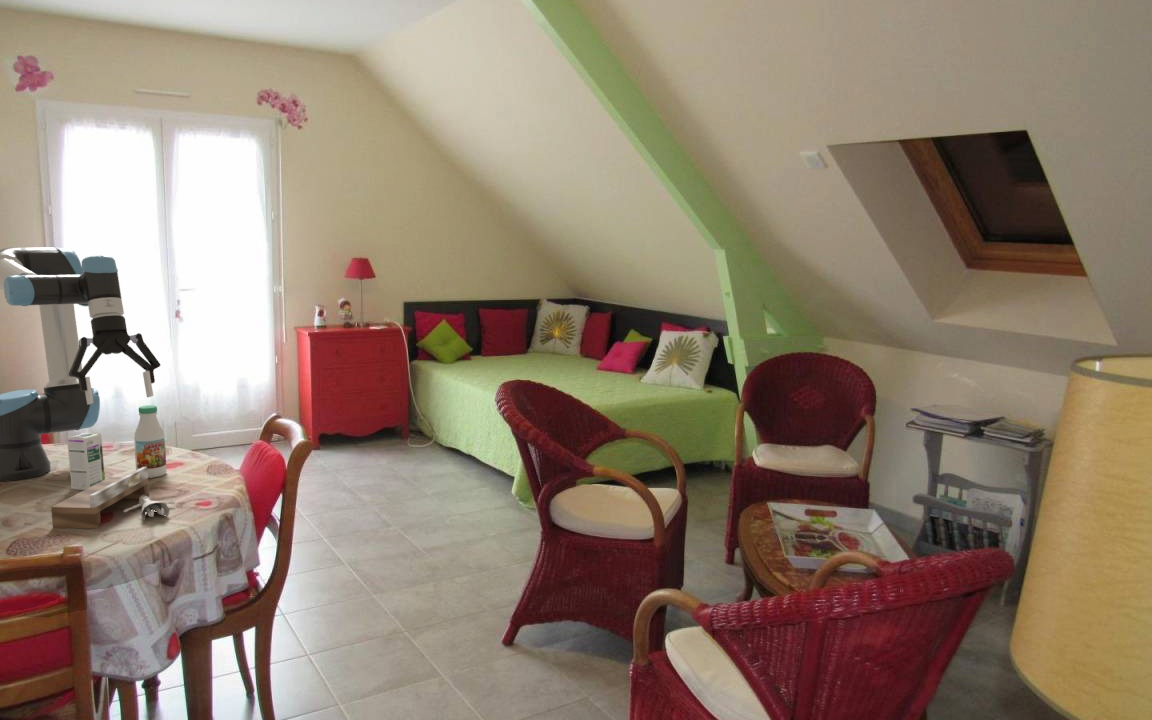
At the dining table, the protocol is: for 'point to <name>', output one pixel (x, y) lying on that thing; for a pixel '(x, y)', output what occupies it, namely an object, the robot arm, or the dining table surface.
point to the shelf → (98, 500)
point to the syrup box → (85, 460)
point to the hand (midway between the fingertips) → (121, 400)
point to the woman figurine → (151, 506)
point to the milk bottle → (150, 443)
